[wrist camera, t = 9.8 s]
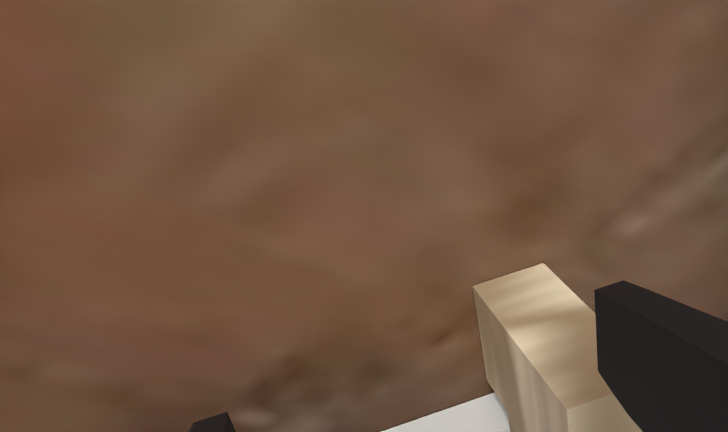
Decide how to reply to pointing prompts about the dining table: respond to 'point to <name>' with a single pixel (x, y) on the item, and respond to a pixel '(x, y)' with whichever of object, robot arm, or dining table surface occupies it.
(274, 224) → the dining table surface
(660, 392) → the robot arm
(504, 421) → the white building blocks
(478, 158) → the dining table surface
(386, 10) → the dining table surface
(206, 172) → the dining table surface
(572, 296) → the light wood plank
